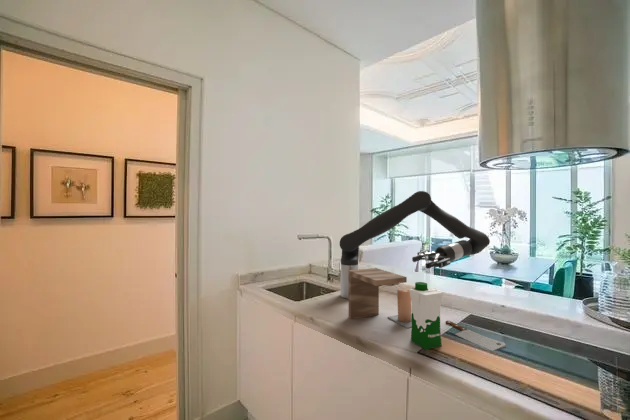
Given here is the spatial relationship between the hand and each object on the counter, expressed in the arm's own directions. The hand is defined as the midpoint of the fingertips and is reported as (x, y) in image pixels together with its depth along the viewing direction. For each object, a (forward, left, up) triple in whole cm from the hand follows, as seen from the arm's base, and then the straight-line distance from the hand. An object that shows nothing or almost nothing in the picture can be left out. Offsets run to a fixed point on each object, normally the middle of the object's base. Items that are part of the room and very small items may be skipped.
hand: (419, 263), depth 125 cm
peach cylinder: (+1, -9, -23) cm, 24 cm away
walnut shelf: (-2, -21, -23) cm, 31 cm away
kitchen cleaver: (+21, +3, -24) cm, 32 cm away
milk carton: (+20, -16, -23) cm, 35 cm away
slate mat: (+1, -9, -23) cm, 25 cm away
